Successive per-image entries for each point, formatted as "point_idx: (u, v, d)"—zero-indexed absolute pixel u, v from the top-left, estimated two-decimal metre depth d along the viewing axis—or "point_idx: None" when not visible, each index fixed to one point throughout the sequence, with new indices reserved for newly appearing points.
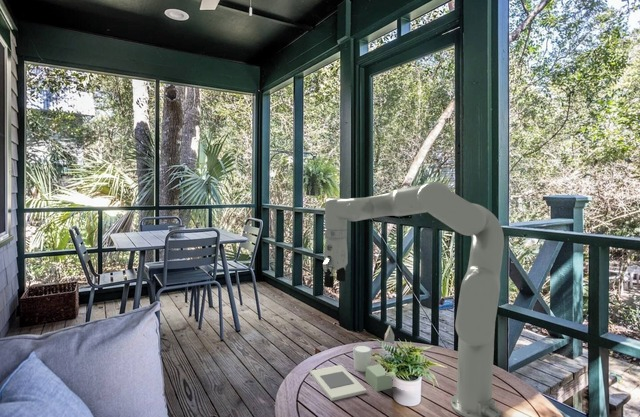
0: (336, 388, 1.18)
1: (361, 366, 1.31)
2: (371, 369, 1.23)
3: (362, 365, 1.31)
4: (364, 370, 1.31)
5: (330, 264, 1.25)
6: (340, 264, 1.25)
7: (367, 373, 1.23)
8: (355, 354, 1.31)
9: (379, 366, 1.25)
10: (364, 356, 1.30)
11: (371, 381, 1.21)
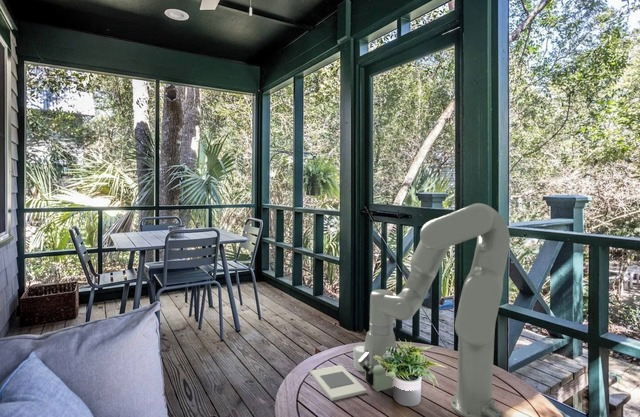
0: (336, 388, 1.18)
1: None
2: None
3: None
4: (364, 370, 1.31)
5: None
6: None
7: None
8: (355, 354, 1.31)
9: (378, 365, 1.25)
10: None
11: None
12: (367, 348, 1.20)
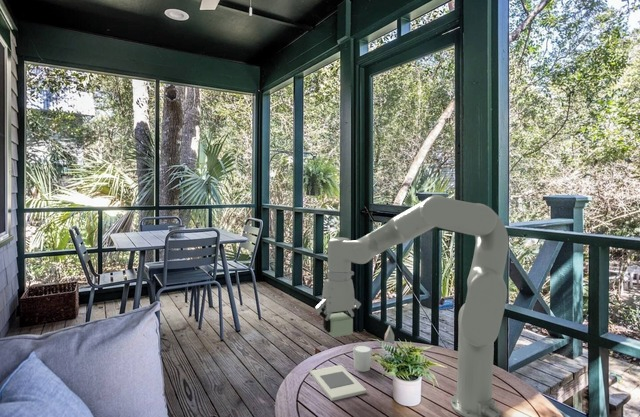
0: (336, 388, 1.18)
1: (361, 366, 1.31)
2: None
3: (362, 365, 1.31)
4: (364, 370, 1.31)
5: None
6: None
7: None
8: (355, 354, 1.31)
9: (337, 314, 1.24)
10: (364, 356, 1.30)
11: None
12: (324, 295, 1.19)
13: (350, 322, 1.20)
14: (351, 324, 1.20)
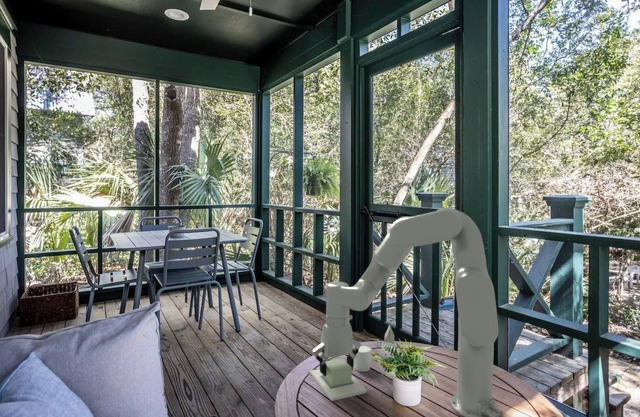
0: (336, 388, 1.18)
1: (361, 366, 1.31)
2: (328, 364, 1.23)
3: (362, 365, 1.31)
4: (364, 370, 1.31)
5: None
6: None
7: None
8: None
9: (337, 361, 1.25)
10: (364, 356, 1.30)
11: (327, 376, 1.22)
12: (323, 340, 1.20)
13: (349, 371, 1.21)
14: (349, 373, 1.21)
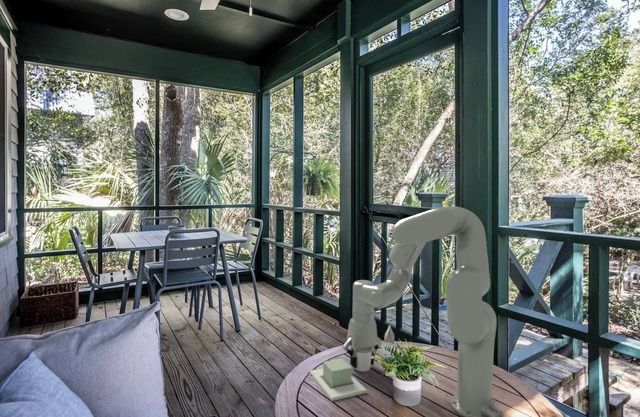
0: (336, 388, 1.18)
1: (361, 366, 1.31)
2: (328, 364, 1.23)
3: (362, 365, 1.31)
4: (364, 370, 1.31)
5: None
6: None
7: (324, 368, 1.24)
8: None
9: (337, 361, 1.25)
10: (364, 356, 1.30)
11: (327, 376, 1.22)
12: (350, 334, 1.31)
13: (349, 371, 1.21)
14: (349, 373, 1.21)
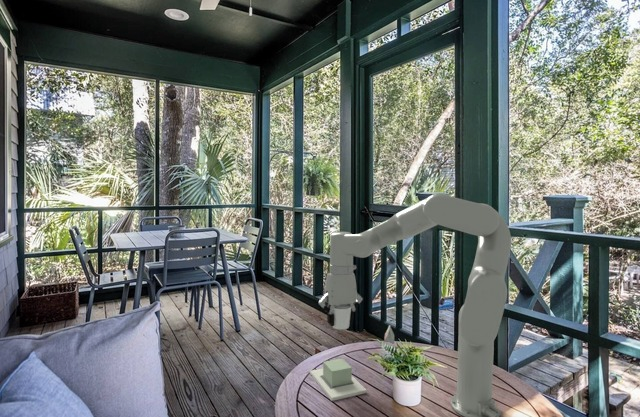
0: (336, 388, 1.18)
1: (339, 323, 1.20)
2: (328, 364, 1.23)
3: (339, 323, 1.20)
4: (342, 328, 1.21)
5: None
6: None
7: (324, 368, 1.24)
8: None
9: (337, 361, 1.25)
10: (342, 312, 1.20)
11: (327, 376, 1.22)
12: (327, 288, 1.21)
13: (349, 371, 1.21)
14: (349, 373, 1.21)
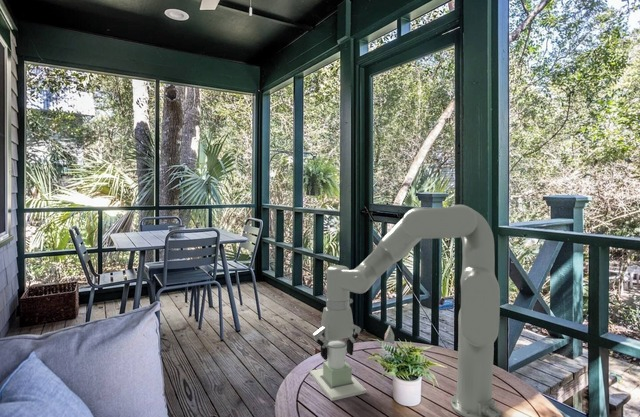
0: (336, 388, 1.18)
1: (334, 363, 1.20)
2: None
3: (335, 362, 1.20)
4: (337, 367, 1.20)
5: None
6: None
7: (324, 368, 1.24)
8: (328, 350, 1.20)
9: None
10: (337, 352, 1.19)
11: (327, 376, 1.22)
12: (323, 323, 1.20)
13: (349, 371, 1.21)
14: (349, 373, 1.21)
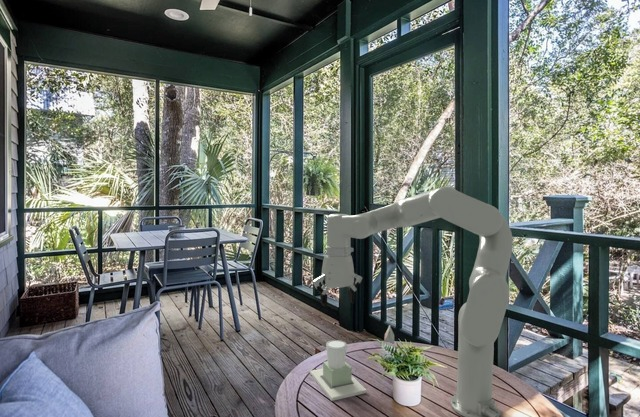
0: (336, 388, 1.18)
1: (334, 363, 1.20)
2: None
3: (335, 362, 1.20)
4: (337, 367, 1.20)
5: None
6: None
7: (324, 368, 1.24)
8: (328, 350, 1.20)
9: None
10: (337, 352, 1.19)
11: (327, 376, 1.22)
12: (324, 271, 1.19)
13: (349, 371, 1.21)
14: (349, 373, 1.21)
